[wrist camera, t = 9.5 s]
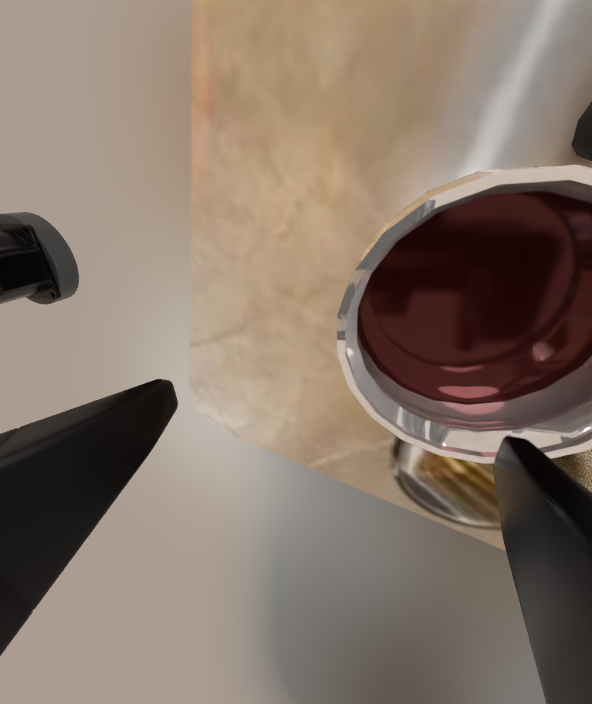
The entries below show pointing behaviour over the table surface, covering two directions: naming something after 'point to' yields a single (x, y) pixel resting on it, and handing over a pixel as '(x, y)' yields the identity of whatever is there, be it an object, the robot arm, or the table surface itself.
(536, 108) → the table surface
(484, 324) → the wineglass
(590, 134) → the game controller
